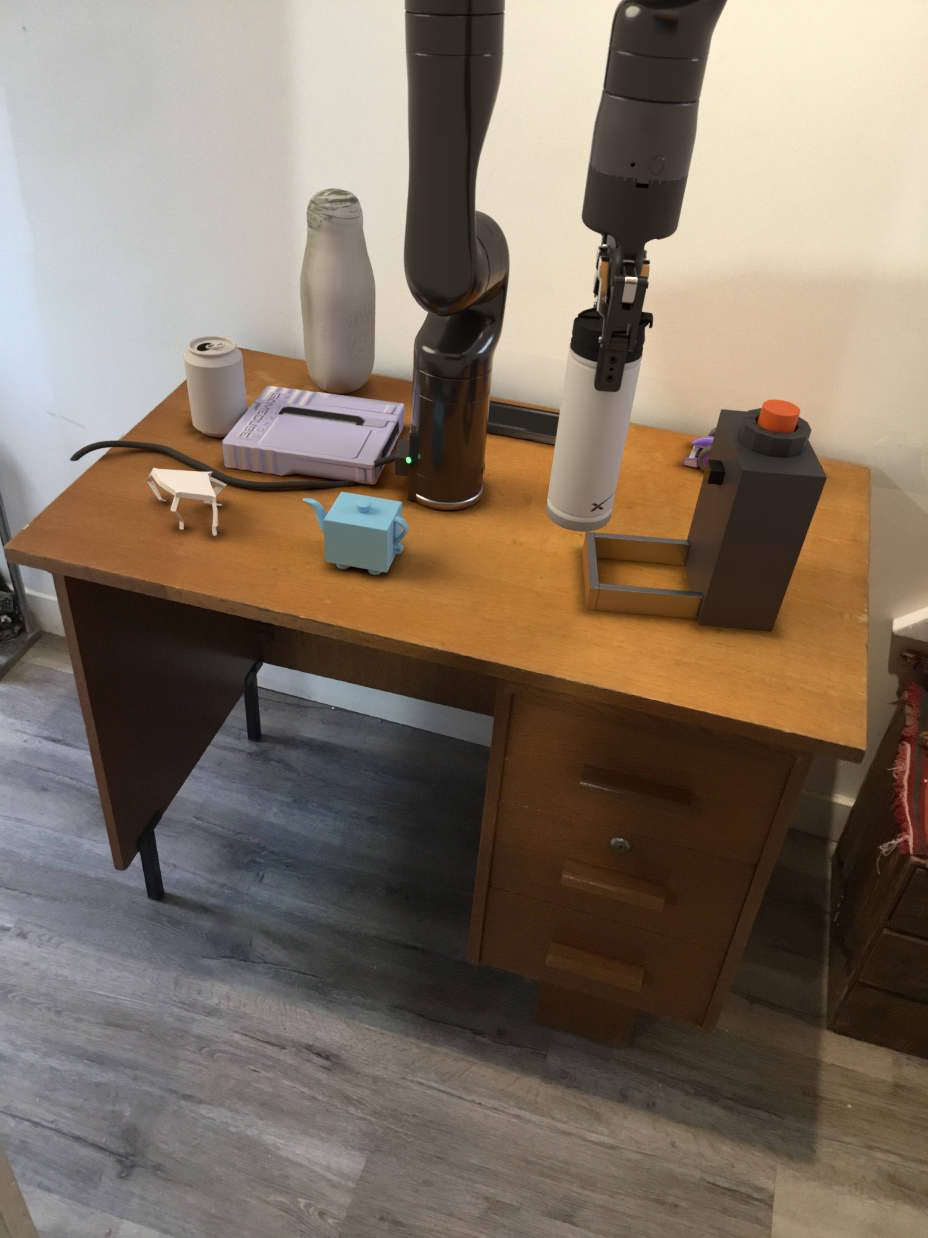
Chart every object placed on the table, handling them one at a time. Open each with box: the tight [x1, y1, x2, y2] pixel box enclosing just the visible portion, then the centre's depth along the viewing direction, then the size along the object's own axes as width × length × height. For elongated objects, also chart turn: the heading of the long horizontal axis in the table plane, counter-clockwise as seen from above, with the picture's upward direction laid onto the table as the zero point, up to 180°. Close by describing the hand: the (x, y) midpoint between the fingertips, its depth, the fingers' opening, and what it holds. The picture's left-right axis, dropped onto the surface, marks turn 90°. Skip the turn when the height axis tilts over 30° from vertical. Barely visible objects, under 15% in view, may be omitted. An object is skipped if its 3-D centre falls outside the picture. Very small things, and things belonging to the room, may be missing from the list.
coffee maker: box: [684, 407, 828, 632], centre depth 96 cm, size 8×13×21 cm, turn 177°
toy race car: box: [682, 427, 716, 472], centre depth 124 cm, size 10×15×6 cm, turn 68°
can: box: [183, 334, 248, 438], centre depth 122 cm, size 8×8×12 cm
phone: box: [487, 399, 560, 445], centre depth 131 cm, size 8×1×15 cm
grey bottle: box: [299, 188, 377, 395], centre depth 128 cm, size 10×10×28 cm
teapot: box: [302, 491, 409, 576], centre depth 101 cm, size 12×6×8 cm, turn 78°
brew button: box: [757, 399, 801, 433], centre depth 89 cm, size 4×4×2 cm
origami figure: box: [146, 467, 228, 537], centre depth 107 cm, size 12×8×5 cm
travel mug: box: [545, 307, 654, 533], centre depth 82 cm, size 6×7×20 cm
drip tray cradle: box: [581, 459, 725, 620], centre depth 98 cm, size 12×11×16 cm
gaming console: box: [221, 385, 405, 486], centre depth 122 cm, size 18×4×20 cm
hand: (603, 371), depth 79 cm, fingers closed on travel mug, 6 cm apart
